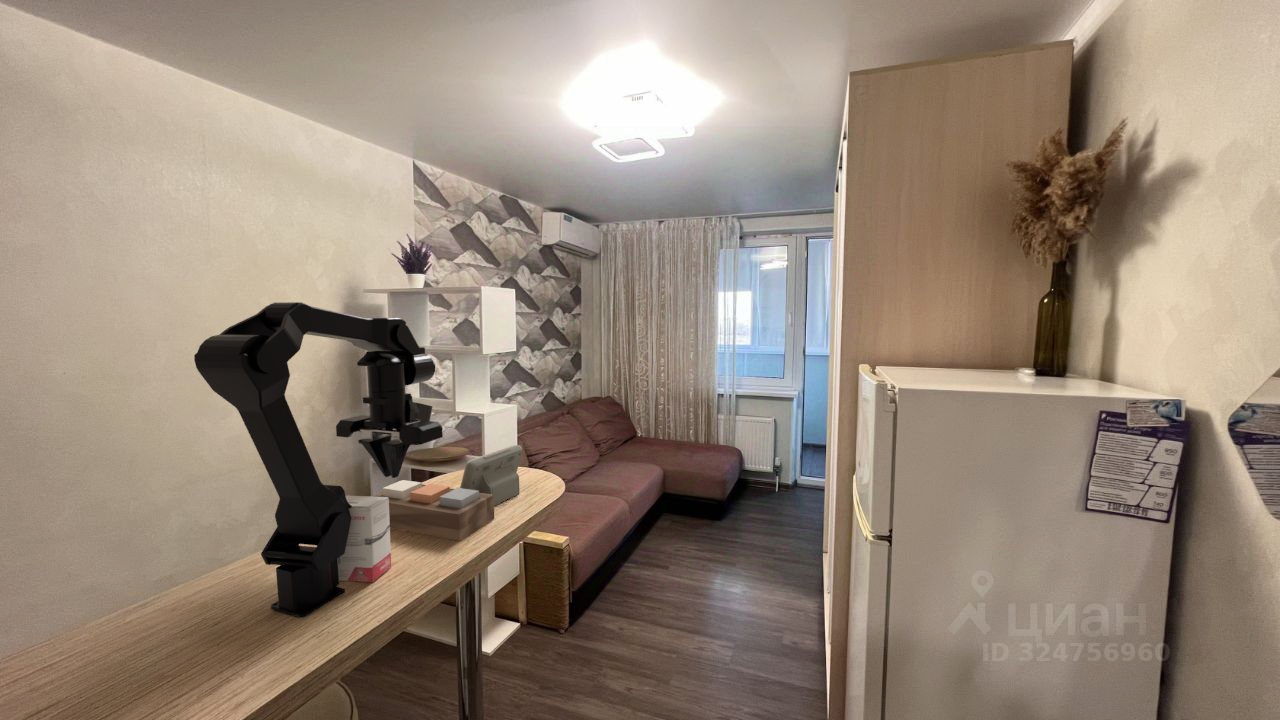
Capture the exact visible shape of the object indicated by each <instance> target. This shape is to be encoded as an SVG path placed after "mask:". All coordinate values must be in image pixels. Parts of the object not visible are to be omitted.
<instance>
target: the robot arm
mask: <svg viewBox="0 0 1280 720" xmlns="http://www.w3.org/2000/svg"><path fill="white" fill-rule="evenodd" d="M406 324H407V322H406V320H404V319H403V318H401V317H361V316H357V315H353V314H347V313H345V312H343V313H342V312H338V311H334V310H329V309H325V308H321V307H316V306H310V305H308V304H306V303H304V302H302V301H301V302H295V301H294V302H293V301H292V302H290V301H288V302H285V301H284V302H273V303H270V304H269V305H267V306H265V307H264V308H262V309H261V310H260V311H259V312H257V313H256V314H254V315H252V316H250V317H247V318H246V319H243V320H241V321H238V322H237V323H235V324H233V325H231V326H229V327H228V328H226V329H225V330H223V331H221V333H219V334H217V335H211V336H210V337H208V338H207V339H205V340H204V341H203V342H202V343H201V344H200V345H199V347H198V349H197V352H196V353H195V354H194V355H193V356H194V359H193V360H194V364H195V368H196V369H197V372H199V374H200V375H201V377H202V378H203V379H204V381H205V382H206V383H207V385H208V386H209V387H210V388H211V390H212V391H213V392H214V393H216V394H217V395H219V396H220V397H221V398H222V399H224V400H225V401H227V402H228V403H229V404H231V405H232V406H233V407H235V409H236V410H237V411H238V413H239V416H240V417H241V419H242V422H243V423H244V426H245V428H246V430H247V432H248V435H249V436H250V438H251V441H252V443H253V444H254V446H255V447H254V448H255V449H256V450H257V453H258V456H259V457H260V459H261V461H262V463H263V465H264V467H265V470H266V472H267V474H268V476H269V478H270V480H271V482H272V484H273V487H274V488H275V490H276V493H277V495H278V499H279V500H278V503H277V507H276V510H275V513H274V519H275V522H276V528H275V529H274V531H273V533H272V535H271V536H270V537H269V540H268V541H267V543H266V545H265V546H264V548H263V549H262V551H261V552H260V556H261V558H262V559H263V561H264V563H265V565H268V566H270V565H274V566H277V567H276V568H275V572H276V587H277V588H276V589H277V599H278V600H277V601H275V602H273V603H271V604H270V609H271V610H275V611H277V612H280V613H285V614H287V615H290V616H295V617H298V618H305V617H307V616H308V615H310V614H312V613H313V612H315V611H317V610H319V609H320V608H322V607H323V606H326V605H327V604H328V603H330V602H332V601H334V600H335V599H337V598H338V597H340V596H342V595H344V594H345V593H346V589H345V588H344V587H339V584H340V580H339V575H338V560H337V558H339V557H340V556H342V555H343V554H344V553H345V548H346V543H347V538H348V533H349V528H350V522H351V516H350V511H349V510H348V509H350V508H351V507H352V506H351V505H350V504H349V503H348V501H347V499H346V496H347V495H346V492H345V490H344V488H343V487H342V486H341V485H335V484H334V485H332V484H323V482H322V481H321V479H320V477H319V475H318V472H317V470H316V467H315V465H314V462H313V459H312V458H311V457H312V456H310V453H309V450H308V448H307V446H306V444H305V442H304V439H303V437H302V436H303V435H301V431H300V429H299V427H298V424H297V421H296V420H295V418H294V415H293V413H292V410H291V408H290V405H289V403H288V401H287V398H286V396H285V395H286V391H287V387H288V384H289V380H290V377H291V373H290V368H289V364H288V362H289V361H290V360H291V359H293V358H294V356H295V355H296V354H297V353H298V352H300V350H301V347H302V343H303V339H304V336H305V335H308V336H316V337H322V338H329V339H334V340H341V341H342V340H343V341H347V342H350V343H351V344H352V345H353V346H355V347H357V348H360V349H362V350H365V351H366V352H365V354H364V356H363V357H361V358H360V359H359V360H358V361H357V363H356V365H357V366H358V367H366V371H367V372H366V374H367V390H368V396H364V397H362V403H363V404H368V406H369V411H368V412H369V415H367V414H366V415H364V414H361V415H357V416H352V417H347V418H344V419H340V420H339V421H338V423H337V424H336V425H335V430H336V431H335V432H336V437H338V438H350V437H352V435H353V434H354V433H356V432H361V438H360V439H358V440H357V442H358V444H361V445H362V446H363V447H364V449H365V451H366V452H367V453H368V454H369V456H371V458H372V460H373V461H374V463H375V464H376V466H377V467H378V469H379V470H380V472H381V473H382V474H383V476H384V477H385V478H389V477H391V479H396V478H398V477H399V475H400V472H401V469H402V466H403V464H404V461H405V458H406V454H407V452H408V449H409V448H410V447H411V445H412V446H419V445H420V446H421V445H424V444H426V443H430V442H432V441H435V440H439V439H441V438H443V435H444V434H443V426H442V425H441V424H440V422H439V421H432V420H431V415H432V411H433V405H430V404H424V403H420V402H416V401H413V396H412V393H406V386H410V385H415V384H419V383H425V382H427V381H429V380H431V379H432V378H433V377H434V375H435V373H436V364H435V362H434V360H433V357H431V356H430V355H429V354H428V353H426V348H425V346H423V347H422V346H419V344H418V342H417V341H416V338H415V337H414V335H413V333H412V331H411V330H410V328H409V326H408V325H406Z"/></svg>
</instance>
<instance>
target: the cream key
mask: <svg viewBox="0 0 1280 720" xmlns="http://www.w3.org/2000/svg"><path fill="white" fill-rule="evenodd" d="M422 484H423V483H422V482H419V481H412V480H404V479H402V480H399V481H397V482H394V483H391V484H389V485H386V486H384V487H382V492H383V496H385V497H391V498H397V499H405V498H407V497H409V496H411V495H410V492H412V491H415V490H417V489H419V488H421V487H422Z"/></svg>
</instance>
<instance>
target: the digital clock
mask: <svg viewBox="0 0 1280 720" xmlns="http://www.w3.org/2000/svg"><path fill="white" fill-rule="evenodd" d="M522 454H523V447H522V446H521V445H520V444H514V445H509V446H507V447H504V448H501V449H498V450H495V451H493V452H490V453H487V454H484V455H481V456H478V457H476V458H472V459H470V460H468V461H467V462H466V464H465V467H464V471H463V475H462V478H461V483H460V487H459V488H463V489H470V490H477V491H479V493H485V494H492V495H494V507H495V506H497V505H499V504H501V502H502V503H503V501H504V502H505V500H506V501H507V499H508V500H509V498H510V499H511V497H512V498H514V497H516V496H518V495H520V475H519V474H518V469H519V465H520V461H521V458H522ZM515 495H516V496H515ZM498 503H499V504H498Z"/></svg>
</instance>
